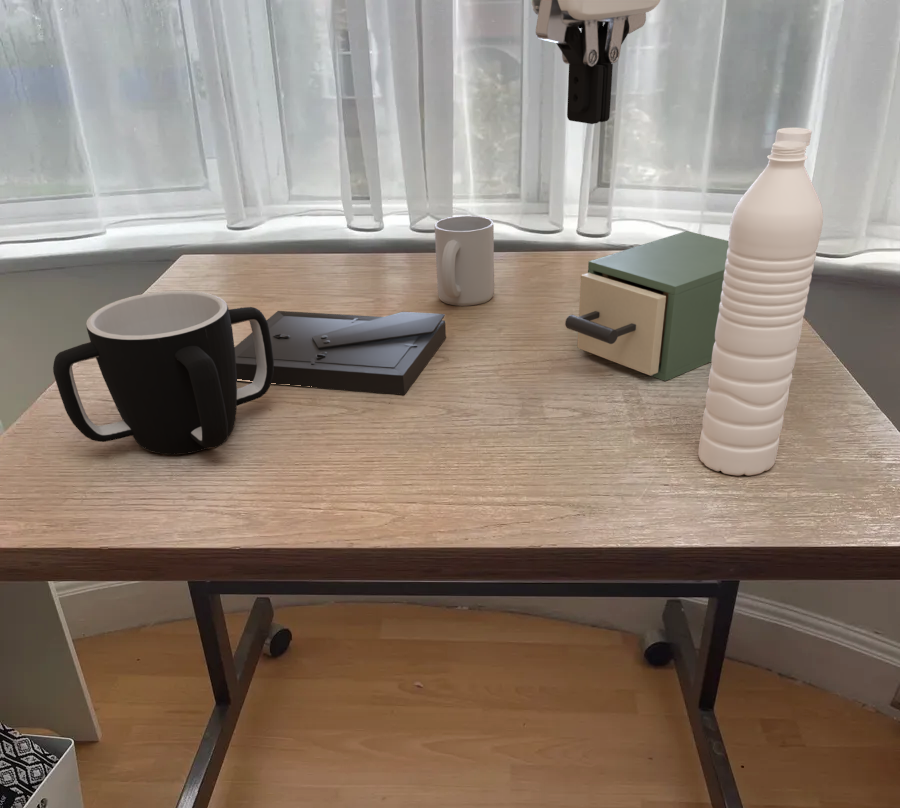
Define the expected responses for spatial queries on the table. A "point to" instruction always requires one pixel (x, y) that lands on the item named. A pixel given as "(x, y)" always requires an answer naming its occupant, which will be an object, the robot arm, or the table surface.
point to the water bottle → (761, 311)
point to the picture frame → (347, 350)
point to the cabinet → (677, 292)
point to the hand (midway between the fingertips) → (587, 120)
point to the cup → (465, 260)
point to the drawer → (620, 322)
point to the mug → (167, 369)
